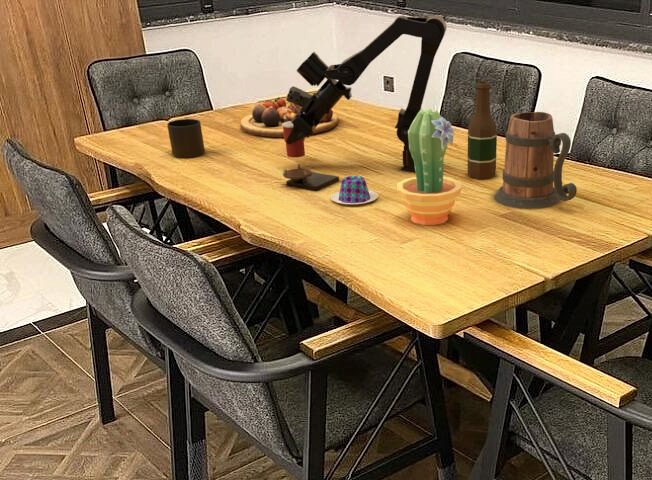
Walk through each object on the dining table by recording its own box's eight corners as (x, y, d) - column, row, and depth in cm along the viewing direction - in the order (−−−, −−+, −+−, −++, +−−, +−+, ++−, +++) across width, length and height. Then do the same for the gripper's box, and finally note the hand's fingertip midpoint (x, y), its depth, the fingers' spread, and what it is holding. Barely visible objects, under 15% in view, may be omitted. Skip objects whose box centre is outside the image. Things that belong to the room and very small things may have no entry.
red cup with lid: (310, 155, 233) (307, 124, 228) (290, 159, 230) (287, 127, 226) (301, 150, 237) (298, 119, 232) (282, 154, 235) (278, 122, 230)
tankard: (480, 196, 212) (481, 115, 201) (526, 182, 221) (530, 104, 210) (548, 220, 197) (554, 134, 186) (595, 204, 206) (603, 121, 195)
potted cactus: (406, 233, 191) (403, 120, 177) (390, 211, 203) (385, 105, 190) (470, 225, 194) (471, 115, 181) (450, 204, 207) (450, 99, 193)
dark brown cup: (194, 146, 256) (189, 115, 251) (210, 154, 248) (205, 123, 243) (165, 151, 251) (159, 120, 247) (179, 160, 243) (173, 128, 238)
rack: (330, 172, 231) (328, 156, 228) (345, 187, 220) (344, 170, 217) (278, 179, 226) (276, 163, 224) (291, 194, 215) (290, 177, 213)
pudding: (384, 193, 215) (383, 173, 212) (369, 208, 205) (367, 187, 202) (340, 190, 218) (339, 170, 215) (323, 205, 208) (321, 184, 205)
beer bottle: (493, 180, 223) (496, 86, 210) (465, 178, 224) (465, 85, 211) (497, 171, 229) (500, 79, 216) (469, 170, 231) (470, 79, 218)
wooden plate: (357, 121, 279) (356, 95, 275) (296, 143, 257) (293, 115, 252) (284, 110, 294) (282, 85, 289) (220, 130, 271) (216, 104, 267)
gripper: (309, 69, 230) (275, 111, 237) (294, 83, 214) (258, 127, 221) (340, 99, 234) (305, 139, 240) (327, 115, 218) (290, 157, 225)
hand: (289, 140), depth 232 cm, fingers closed on red cup with lid, 5 cm apart
